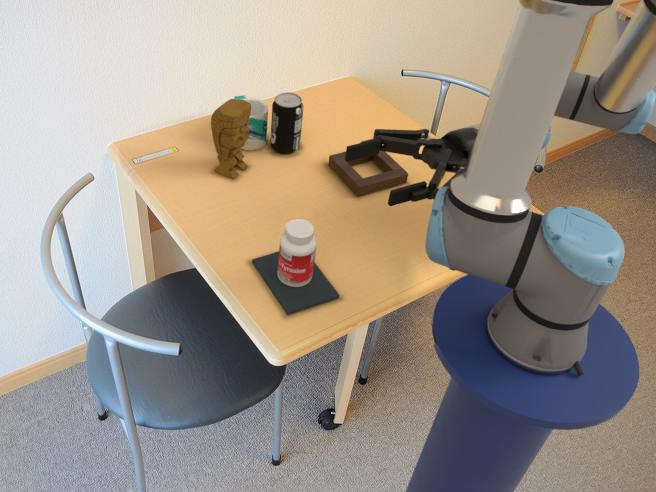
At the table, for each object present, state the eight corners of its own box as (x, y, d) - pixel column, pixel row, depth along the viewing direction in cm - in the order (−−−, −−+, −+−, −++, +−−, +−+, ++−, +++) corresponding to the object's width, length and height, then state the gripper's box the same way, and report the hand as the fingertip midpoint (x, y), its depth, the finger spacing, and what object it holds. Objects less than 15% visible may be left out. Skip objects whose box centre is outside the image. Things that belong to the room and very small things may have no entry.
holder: (406, 183, 137) (408, 173, 135) (357, 196, 133) (359, 187, 131) (375, 153, 145) (376, 143, 143) (328, 165, 141) (329, 155, 139)
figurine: (233, 181, 135) (234, 118, 125) (207, 171, 138) (206, 107, 127) (251, 165, 140) (253, 102, 129) (226, 155, 142) (226, 93, 132)
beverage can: (265, 142, 146) (267, 94, 138) (292, 136, 148) (296, 89, 140) (277, 158, 142) (280, 109, 134) (304, 152, 144) (309, 104, 136)
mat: (339, 298, 112) (339, 295, 112) (287, 315, 109) (287, 312, 109) (300, 247, 121) (300, 244, 121) (251, 262, 118) (251, 259, 118)
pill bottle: (271, 281, 114) (274, 233, 106) (285, 259, 118) (289, 211, 110) (304, 293, 112) (310, 244, 104) (317, 270, 116) (324, 222, 108)
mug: (235, 152, 143) (236, 118, 137) (222, 123, 151) (222, 90, 146) (271, 147, 145) (273, 113, 139) (256, 119, 153) (257, 86, 148)
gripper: (512, 205, 109) (406, 238, 102) (424, 131, 125) (327, 155, 118) (526, 168, 104) (416, 200, 97) (433, 95, 120) (332, 118, 113)
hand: (367, 175), depth 108 cm, fingers open, 13 cm apart
